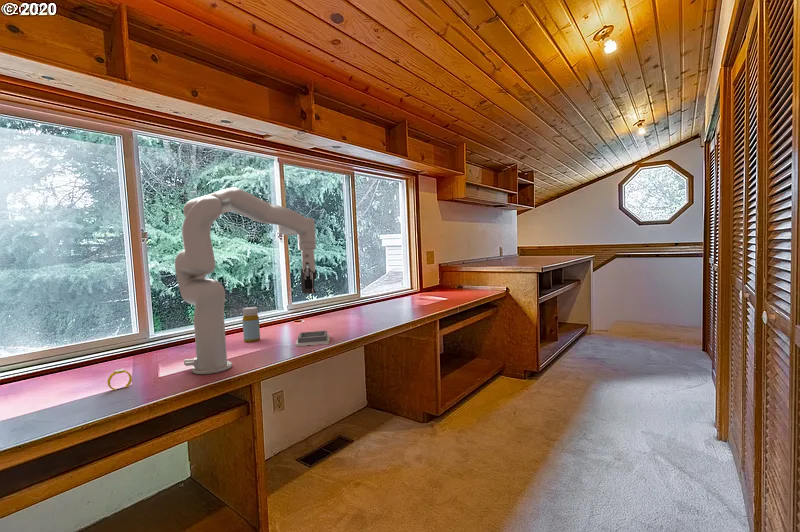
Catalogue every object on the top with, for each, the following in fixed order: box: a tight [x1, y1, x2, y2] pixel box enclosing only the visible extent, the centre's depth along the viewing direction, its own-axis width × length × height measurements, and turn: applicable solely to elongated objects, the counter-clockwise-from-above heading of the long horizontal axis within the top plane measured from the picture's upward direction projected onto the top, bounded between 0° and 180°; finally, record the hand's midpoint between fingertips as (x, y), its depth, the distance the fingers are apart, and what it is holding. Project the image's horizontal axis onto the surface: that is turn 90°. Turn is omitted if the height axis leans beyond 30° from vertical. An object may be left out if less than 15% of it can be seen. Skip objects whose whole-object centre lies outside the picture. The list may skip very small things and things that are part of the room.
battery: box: [300, 268, 317, 295], centre depth 172 cm, size 7×4×11 cm, turn 52°
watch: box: [107, 368, 133, 391], centre depth 122 cm, size 6×3×6 cm, turn 139°
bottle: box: [242, 306, 261, 343], centre depth 180 cm, size 7×7×15 cm
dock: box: [295, 330, 331, 348], centre depth 173 cm, size 14×14×3 cm
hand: (309, 287), depth 172 cm, fingers closed on battery, 6 cm apart
